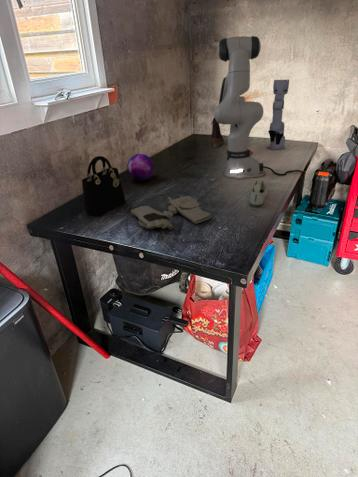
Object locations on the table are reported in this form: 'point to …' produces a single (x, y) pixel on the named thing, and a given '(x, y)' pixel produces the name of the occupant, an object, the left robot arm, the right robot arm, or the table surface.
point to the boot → (216, 134)
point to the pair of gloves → (170, 213)
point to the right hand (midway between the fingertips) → (274, 142)
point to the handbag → (102, 188)
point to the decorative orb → (140, 167)
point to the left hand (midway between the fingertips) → (237, 143)
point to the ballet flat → (258, 193)
